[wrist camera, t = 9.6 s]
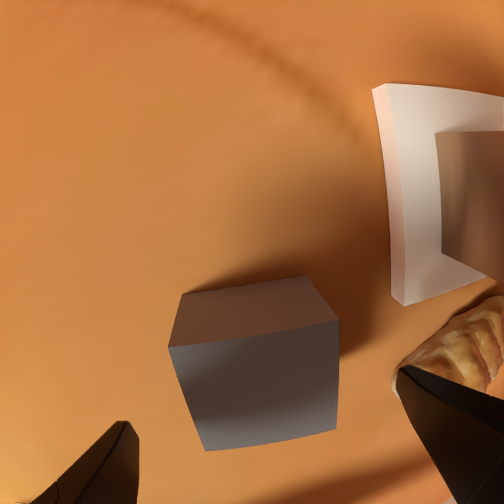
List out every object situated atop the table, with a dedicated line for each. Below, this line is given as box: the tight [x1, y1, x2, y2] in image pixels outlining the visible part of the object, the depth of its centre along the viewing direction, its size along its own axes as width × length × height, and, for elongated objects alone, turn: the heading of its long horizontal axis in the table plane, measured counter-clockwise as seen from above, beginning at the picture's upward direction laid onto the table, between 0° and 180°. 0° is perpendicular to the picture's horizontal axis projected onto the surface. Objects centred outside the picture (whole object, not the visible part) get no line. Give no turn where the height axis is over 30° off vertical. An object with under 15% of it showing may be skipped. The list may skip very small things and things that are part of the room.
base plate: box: [372, 83, 504, 306], centre depth 11 cm, size 9×9×1 cm
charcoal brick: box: [168, 275, 340, 451], centre depth 11 cm, size 5×5×4 cm
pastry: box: [391, 295, 504, 401], centre depth 13 cm, size 9×7×4 cm
